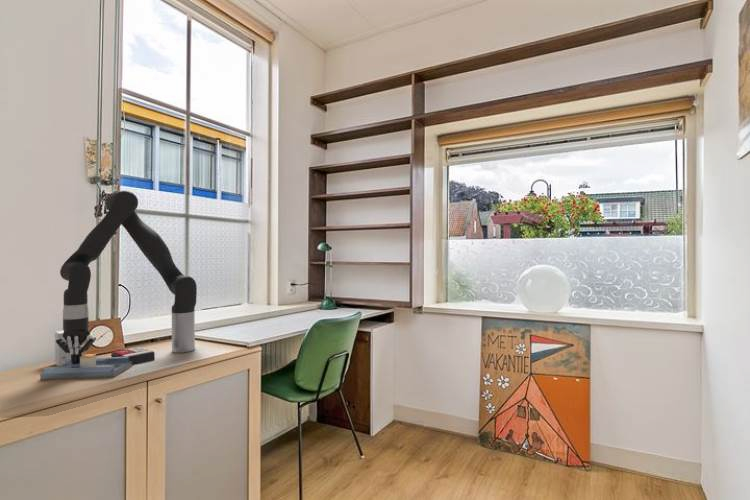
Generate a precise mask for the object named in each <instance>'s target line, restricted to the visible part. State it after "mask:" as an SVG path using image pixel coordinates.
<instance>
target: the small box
mask: <svg viewBox="0 0 750 500" xmlns="http://www.w3.org/2000/svg"><path fill="white" fill-rule="evenodd" d="M63 333H64V330H63V329H62V330H58V331H57V330H56V331H54V355H55V356H54V358H55V360H54V362H55V365H56V366H57V367H58V366H60V365H63V364H65V360H66V359H71V354H70V353H65V352H64V351H63V349H62V348H61V347H60V346H59V345H58V344H57V343H56V340H58V339H60V338H61V337H62V335H63ZM66 342H67V341H66ZM83 355H85V354H84V352H82V356H83Z"/></svg>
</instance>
